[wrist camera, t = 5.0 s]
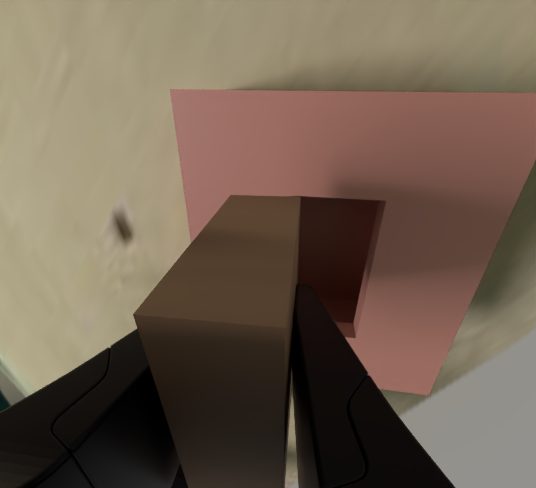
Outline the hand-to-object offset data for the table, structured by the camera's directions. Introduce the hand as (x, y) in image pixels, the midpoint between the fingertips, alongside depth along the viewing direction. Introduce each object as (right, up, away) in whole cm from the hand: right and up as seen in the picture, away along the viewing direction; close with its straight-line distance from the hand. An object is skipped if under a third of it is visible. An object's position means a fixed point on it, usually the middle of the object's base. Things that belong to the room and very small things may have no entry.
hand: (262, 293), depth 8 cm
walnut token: (0, +1, +1) cm, 1 cm away
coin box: (+4, +3, +10) cm, 11 cm away
